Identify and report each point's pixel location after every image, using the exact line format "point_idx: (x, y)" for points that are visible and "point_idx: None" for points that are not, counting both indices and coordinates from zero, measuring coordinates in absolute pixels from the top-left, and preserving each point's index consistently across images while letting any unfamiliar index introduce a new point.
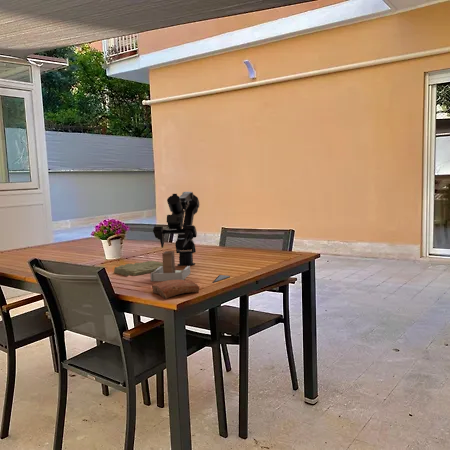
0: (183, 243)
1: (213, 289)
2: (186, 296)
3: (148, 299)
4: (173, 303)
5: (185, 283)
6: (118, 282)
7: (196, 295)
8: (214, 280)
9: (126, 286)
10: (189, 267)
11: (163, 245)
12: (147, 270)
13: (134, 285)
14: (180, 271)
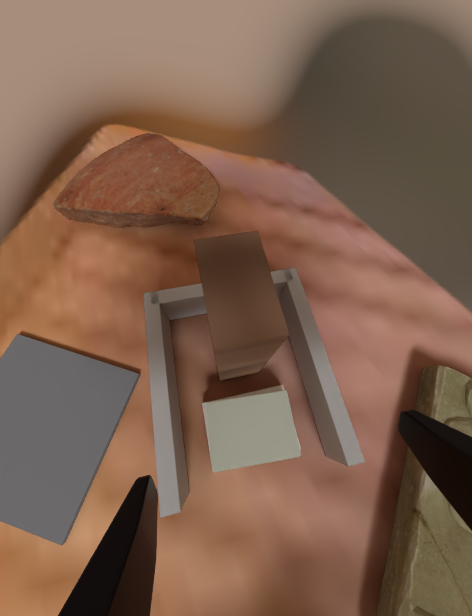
0: (122, 517)
1: (14, 247)
2: None
3: (191, 143)
4: (114, 127)
5: (88, 168)
6: (417, 280)
7: (66, 184)
8: (10, 361)
9: (342, 237)
10: (159, 487)
11: (437, 486)
12: None
13: (325, 252)
14: (210, 434)
